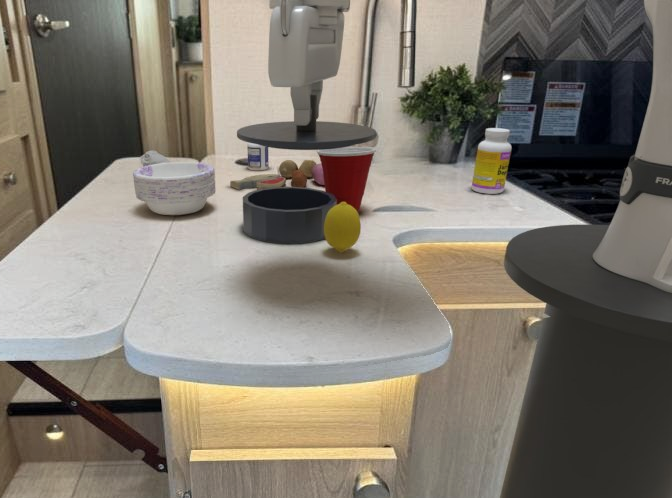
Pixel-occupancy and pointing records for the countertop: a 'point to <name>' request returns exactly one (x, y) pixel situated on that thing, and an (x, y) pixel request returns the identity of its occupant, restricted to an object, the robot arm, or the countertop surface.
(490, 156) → the supplement bottle
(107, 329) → the countertop surface
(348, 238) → the lemon
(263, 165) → the pill bottle
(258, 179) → the toy food set
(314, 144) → the lid
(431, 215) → the countertop surface
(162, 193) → the paper bowls
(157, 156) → the frog figurine
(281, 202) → the pot
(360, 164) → the plastic cup
